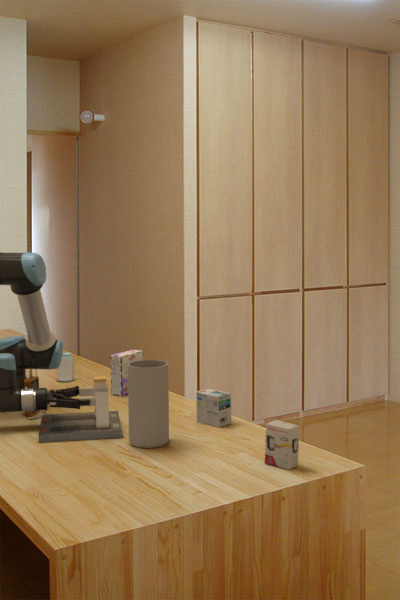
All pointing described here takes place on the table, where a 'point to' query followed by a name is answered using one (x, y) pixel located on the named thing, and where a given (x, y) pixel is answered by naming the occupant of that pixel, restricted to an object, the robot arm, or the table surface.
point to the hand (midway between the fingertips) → (99, 396)
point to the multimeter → (31, 383)
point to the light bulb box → (214, 407)
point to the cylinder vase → (148, 403)
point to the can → (66, 368)
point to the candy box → (122, 370)
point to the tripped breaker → (97, 382)
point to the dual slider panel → (83, 423)
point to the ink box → (282, 444)
